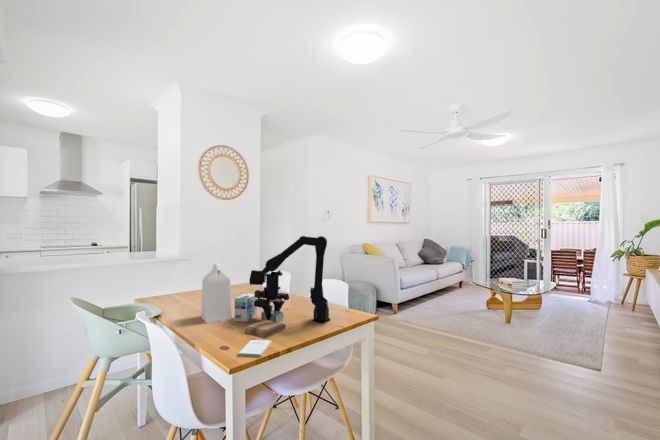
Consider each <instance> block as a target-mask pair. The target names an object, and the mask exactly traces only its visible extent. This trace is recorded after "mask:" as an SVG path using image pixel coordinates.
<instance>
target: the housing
mask: <svg viewBox="0 0 660 440" xmlns="http://www.w3.org/2000/svg"><path fill="white" fill-rule="evenodd" d="M260 314H261V315H260V316H261V317H260V319H261V320H260V321H262V320H267V318H266V315H265V312H264V310H263V311H261V313H260ZM269 320H270V321H274V322H279V323H282V322H283V321H284V312H283V311H281V310H280V311H274V309H272V310H271V315H270V319H269Z"/></svg>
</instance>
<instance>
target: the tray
mask: <svg viewBox="0 0 660 440" xmlns="http://www.w3.org/2000/svg"><path fill="white" fill-rule="evenodd" d="M286 327H287V326H286V324H285V323H283V322H274V321H270V320H260V321H258V322H254V323H252V324H249V325H247V326H245V327H244V333H245V334H246V333H247V334H249V335H254V336H258V337H261V338H265V339H267V338H269V337H272V336H274V335H276V334H278V333H281V332H282V331H284V330H286V329H287V328H286Z"/></svg>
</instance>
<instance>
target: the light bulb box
mask: <svg viewBox="0 0 660 440" xmlns="http://www.w3.org/2000/svg"><path fill="white" fill-rule="evenodd" d="M254 294H255V293H243V294H240V295H239V296H237V297H235V298H234V322H245V323H247V322H249V321H251V320H252V319H254V318H255V317H257V315H258V307H255V306H254V301H255V300H257V299H258V298H256V297H255V295H254Z"/></svg>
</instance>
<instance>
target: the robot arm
mask: <svg viewBox="0 0 660 440" xmlns="http://www.w3.org/2000/svg"><path fill="white" fill-rule="evenodd" d="M304 245H305V246H306V245H308V246H314V247H315V257H316V258H315V269H314V271H315V272H314V285H313V287H312V286H311V287H310V290H309V291H310V292H309V293H310V295H309V299H310V302H311V303H312V305H313V306H314V309H313V319H312V322H317V323H322V324H325V323H327V322H329V321H330V320H331V317H330V313H329V312H330V307H328V303H329V302H328V299H327V298H325V296H324V289H323V287H324V286H323V278H324V277H323V276H324V275H323V274H324V262H325V261H324V260H325V253H326V249H327V246H328V241H327V238H326V237H325V236H322V235H321V236H317V237H312V236H306V235H302V236H300V237H299V238H298V239H297V240H296V241H294V242H293V243H292V244H290V246H288V247H287V248H286V249H284V250H283V251H282V252H280V253H278V254H277V255H275V256H273V257H271V258H269V259H268V260H267V261H266V262H265V266H264V268H263V269H262V270H255V269H253V270H251V271H250V274H249V275H250V276H249V285H250V286H251V285H252V286H262V285H264V284H265V283H266V284H265V285H266V286H264V287H263V290H260V289H258V290H255V291H254V293H253V294H254V295H255V297H256V298H257V300H255V301H254V306H255V307H257V308H261V309H262V310H263V311H264V312H265V315H266V318H267V320H269V319H270V315H271V310H274V311H280V312H281V309H282V307H283V306H284V303H286V301H289V300H290V294H288V293H286V292H285V293H284V292H279V290H281V286H279V284H280V283H279V281H280V279H279V277H282V276H283V274H284V273H283V272H282V271H281V270H280V269H279V270H278V268H279V267H280V266H281V265H283V263H284V262H285V260H287V259H288V258H289V257H290V256H291V255H293V254H294V253H295V252H296V251H298V250H299V249H300V248H301V247H303V246H304ZM276 270H278V271H276ZM271 303H272V304H273V305H271Z"/></svg>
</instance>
